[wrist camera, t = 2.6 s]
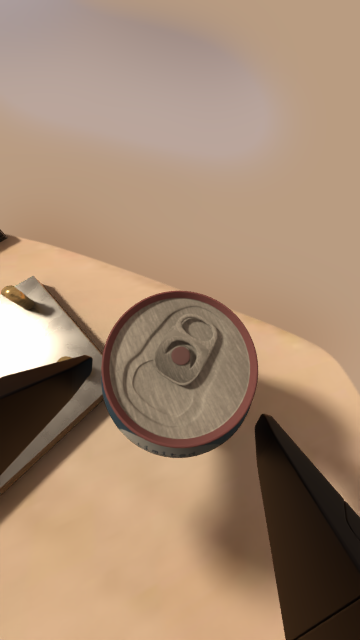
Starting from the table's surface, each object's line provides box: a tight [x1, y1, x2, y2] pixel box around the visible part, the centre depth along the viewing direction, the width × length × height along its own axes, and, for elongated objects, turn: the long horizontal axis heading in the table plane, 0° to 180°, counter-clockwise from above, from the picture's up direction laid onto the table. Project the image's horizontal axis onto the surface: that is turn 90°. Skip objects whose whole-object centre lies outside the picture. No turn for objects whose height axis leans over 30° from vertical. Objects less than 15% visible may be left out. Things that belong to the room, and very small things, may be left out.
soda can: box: [101, 291, 258, 458], centre depth 12 cm, size 7×7×12 cm
